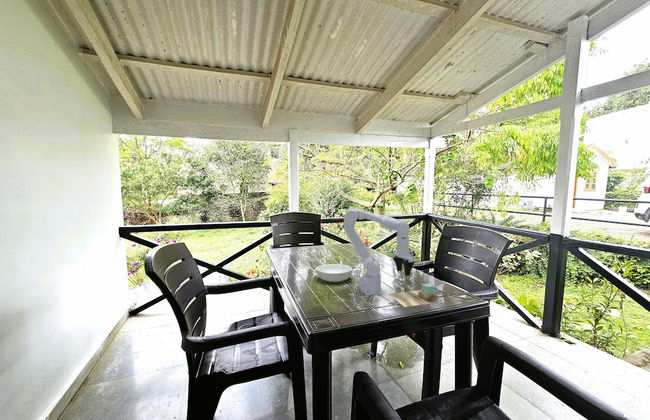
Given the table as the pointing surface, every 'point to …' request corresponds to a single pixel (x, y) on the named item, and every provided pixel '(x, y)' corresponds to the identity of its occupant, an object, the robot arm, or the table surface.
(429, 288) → the teal block
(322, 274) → the serving bowl
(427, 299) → the walnut slab
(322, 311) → the table surface
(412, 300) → the build board
